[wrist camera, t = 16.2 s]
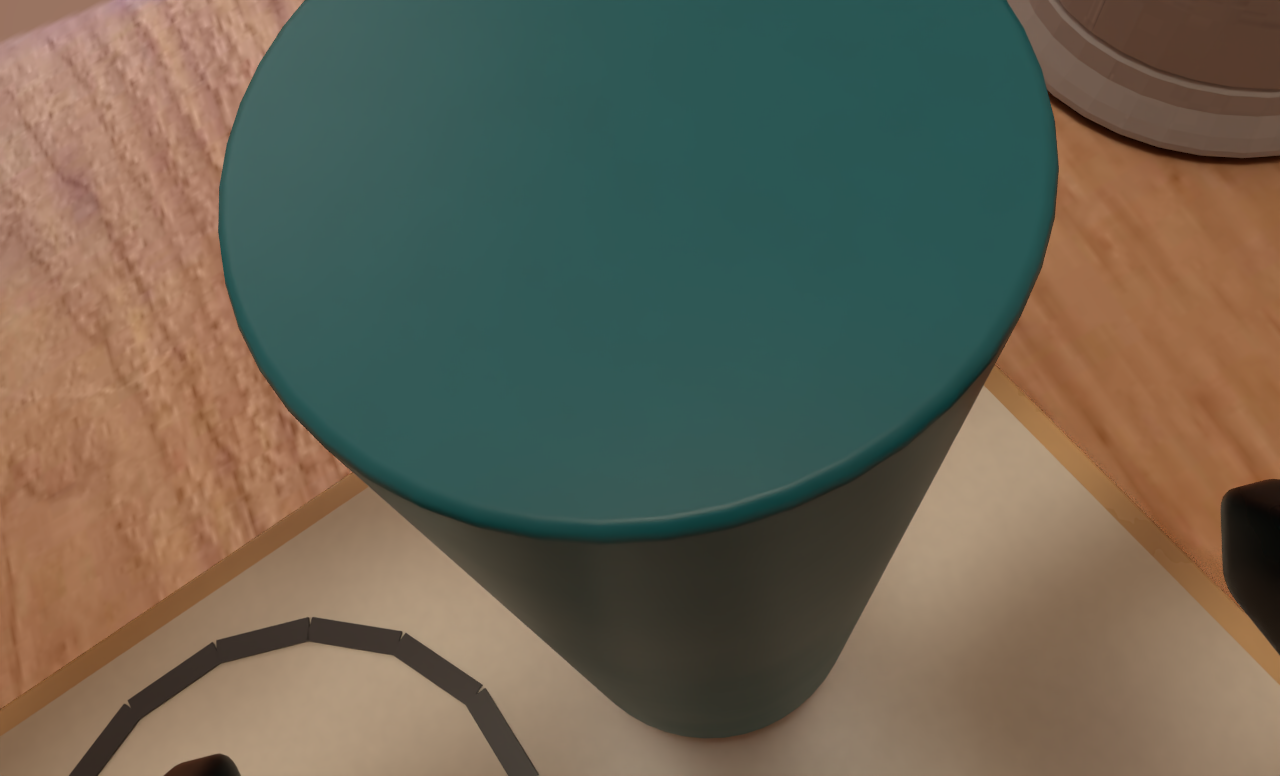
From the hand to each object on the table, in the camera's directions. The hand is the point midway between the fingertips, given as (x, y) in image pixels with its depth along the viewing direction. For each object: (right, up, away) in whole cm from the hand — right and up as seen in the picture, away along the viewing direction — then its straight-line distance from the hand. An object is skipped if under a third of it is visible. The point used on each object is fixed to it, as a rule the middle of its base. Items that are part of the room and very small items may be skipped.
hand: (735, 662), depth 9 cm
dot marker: (0, -1, +7) cm, 8 cm away
